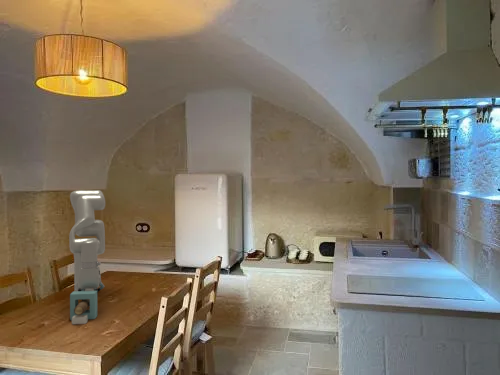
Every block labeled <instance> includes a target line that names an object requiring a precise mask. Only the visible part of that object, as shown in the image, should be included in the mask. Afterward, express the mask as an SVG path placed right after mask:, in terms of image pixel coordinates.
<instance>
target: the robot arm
mask: <svg viewBox="0 0 500 375" xmlns="http://www.w3.org/2000/svg"><path fill="white" fill-rule="evenodd" d="M69 200H70V204H71V207H72V208H73V212H74V225H73V226H72V228H71V229H70V231H69V235H68V236H69V238H68V239H69V240H68V241H69V246H68V247H69V251H70V252H71V253H72V254H73V259H74V260H73V262H74V266H73V268H74V273H73V274H74V276H73V277H74V286H73V287H74V288H73V289H74V291H72V292H75V291H97V294H98V293H100V291H102V290H103V289H104V288H105V285H104V283H103V282H102V278H101V269H100V266H101V262H99V261H98V256H99V255H102V254H104V253H105V252H106V235H105V234H106V231H105V229H106V228H105V223H104V221H103V220H101V219H95V218H96V216H95V211H103V210H104V209H105V208H106V198H105V195H104V193H103V191H102V190H99V189H98V190H97V189H96V190H94V189H89V190H87V189H80V190H78V189H77V190H74V191H72V192H70V195H69ZM76 236H78V237H81V238H76ZM85 237H86V238H85ZM87 237H88V238H87ZM82 300H83V299H81V301H82Z"/></svg>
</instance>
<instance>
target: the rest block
mask: <svg viewBox="0 0 500 375" xmlns="http://www.w3.org/2000/svg"><path fill="white" fill-rule="evenodd" d="M88 320H89V319H88V315H75V316H73V317H72V320H71V324H72V325H83V324H84V325H85V324H87V323H88Z"/></svg>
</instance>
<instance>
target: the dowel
mask: <svg viewBox="0 0 500 375" xmlns="http://www.w3.org/2000/svg"><path fill="white" fill-rule="evenodd" d="M89 308H90V299H83V300H82V299H81V301H80V302H78V305H77V306H76V307H75V309H74V312H75V314H76V315H82V314H83V313H84V312H85V311H86V310H88V309H89Z"/></svg>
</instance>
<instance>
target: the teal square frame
mask: <svg viewBox="0 0 500 375" xmlns="http://www.w3.org/2000/svg"><path fill="white" fill-rule="evenodd" d="M74 291H75V290H74ZM82 299H90V306H89V309H86V311H85V312H84V313H83V314H82V315H88V320H95V319H96V318H97V317H98V293H97V291H75V292H73V291H72V292H71V293H70V294H69V319H70V321H72V317H73V316H75V315H76V314H75V312H74V309H75V307H76V306H77V305H78V304H79V300H82Z"/></svg>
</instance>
